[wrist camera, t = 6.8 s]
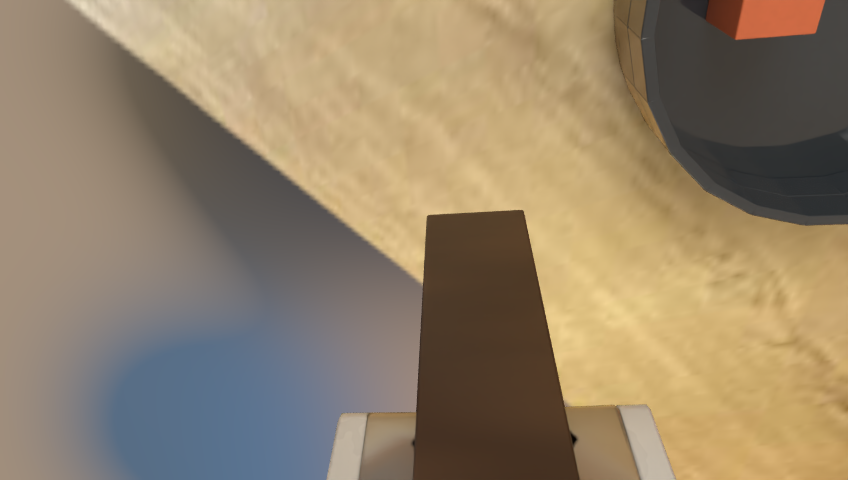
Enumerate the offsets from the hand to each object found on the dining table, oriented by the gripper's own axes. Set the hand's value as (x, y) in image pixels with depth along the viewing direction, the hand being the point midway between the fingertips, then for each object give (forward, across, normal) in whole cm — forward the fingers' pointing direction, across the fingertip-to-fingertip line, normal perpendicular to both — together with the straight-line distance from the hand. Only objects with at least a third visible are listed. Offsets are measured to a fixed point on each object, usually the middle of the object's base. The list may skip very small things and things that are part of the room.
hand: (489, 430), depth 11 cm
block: (+24, -14, -2) cm, 27 cm away
